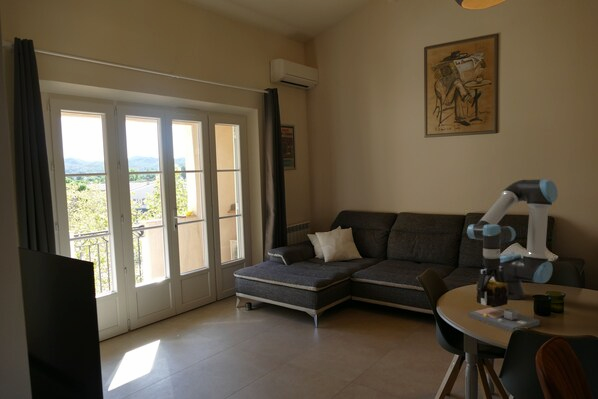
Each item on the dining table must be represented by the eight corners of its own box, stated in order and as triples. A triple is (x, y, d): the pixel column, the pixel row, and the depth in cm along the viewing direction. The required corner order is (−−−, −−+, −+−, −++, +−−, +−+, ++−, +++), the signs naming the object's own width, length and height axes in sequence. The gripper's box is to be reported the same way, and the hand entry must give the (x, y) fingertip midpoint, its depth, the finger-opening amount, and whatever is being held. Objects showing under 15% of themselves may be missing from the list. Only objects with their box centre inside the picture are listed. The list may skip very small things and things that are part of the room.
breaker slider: (504, 317, 195) (504, 309, 195) (510, 315, 197) (510, 308, 197) (511, 319, 192) (511, 312, 192) (517, 318, 194) (517, 310, 193)
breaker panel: (468, 316, 205) (468, 310, 205) (494, 310, 213) (494, 303, 213) (512, 332, 184) (512, 325, 184) (539, 324, 192) (539, 317, 191)
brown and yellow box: (493, 308, 197) (493, 286, 196) (475, 302, 206) (475, 282, 205) (508, 304, 201) (508, 283, 201) (490, 299, 210) (490, 279, 210)
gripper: (481, 261, 194) (481, 308, 195) (514, 255, 204) (515, 301, 205) (468, 258, 201) (468, 304, 202) (501, 253, 210) (501, 297, 212)
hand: (491, 302), depth 203 cm, fingers closed on brown and yellow box, 10 cm apart
